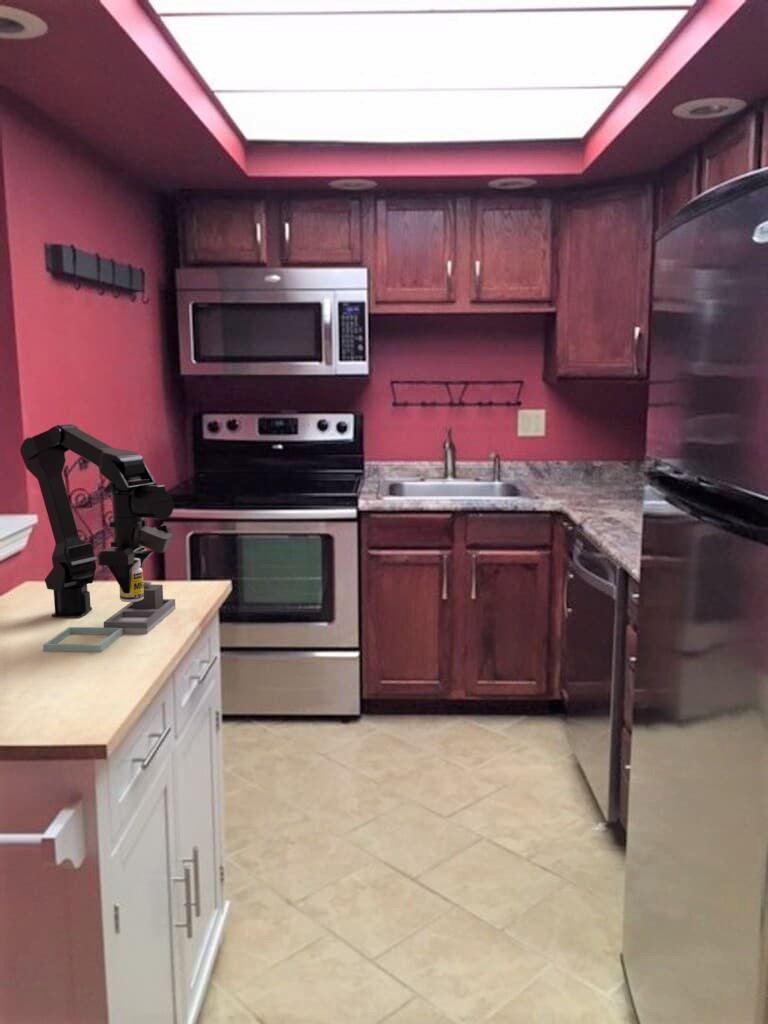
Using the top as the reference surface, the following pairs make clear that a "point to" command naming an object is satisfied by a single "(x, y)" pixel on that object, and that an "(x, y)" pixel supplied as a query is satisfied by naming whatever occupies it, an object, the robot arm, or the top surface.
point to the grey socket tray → (139, 617)
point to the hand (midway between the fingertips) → (131, 589)
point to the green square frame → (53, 645)
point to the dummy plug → (150, 597)
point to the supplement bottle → (134, 585)
